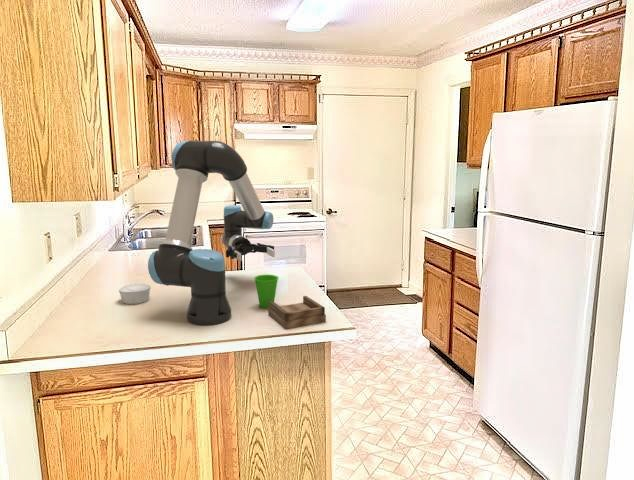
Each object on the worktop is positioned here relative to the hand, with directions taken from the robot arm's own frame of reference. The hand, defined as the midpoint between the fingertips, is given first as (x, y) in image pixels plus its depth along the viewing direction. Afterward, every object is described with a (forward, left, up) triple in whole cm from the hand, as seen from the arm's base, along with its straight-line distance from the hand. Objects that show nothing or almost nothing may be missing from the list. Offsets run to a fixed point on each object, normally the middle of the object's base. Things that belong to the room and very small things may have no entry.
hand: (257, 255), depth 180 cm
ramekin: (-47, +3, -18) cm, 50 cm away
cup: (+3, -9, -17) cm, 20 cm away
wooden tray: (+13, -23, -17) cm, 32 cm away
